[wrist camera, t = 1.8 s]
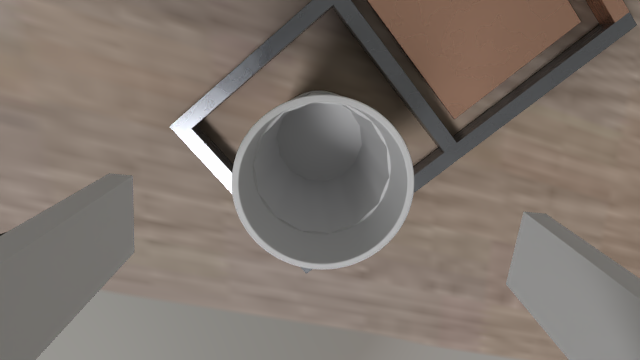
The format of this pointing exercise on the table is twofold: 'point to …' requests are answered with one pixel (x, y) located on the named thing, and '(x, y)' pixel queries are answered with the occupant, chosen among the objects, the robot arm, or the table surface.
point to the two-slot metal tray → (437, 63)
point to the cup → (322, 181)
